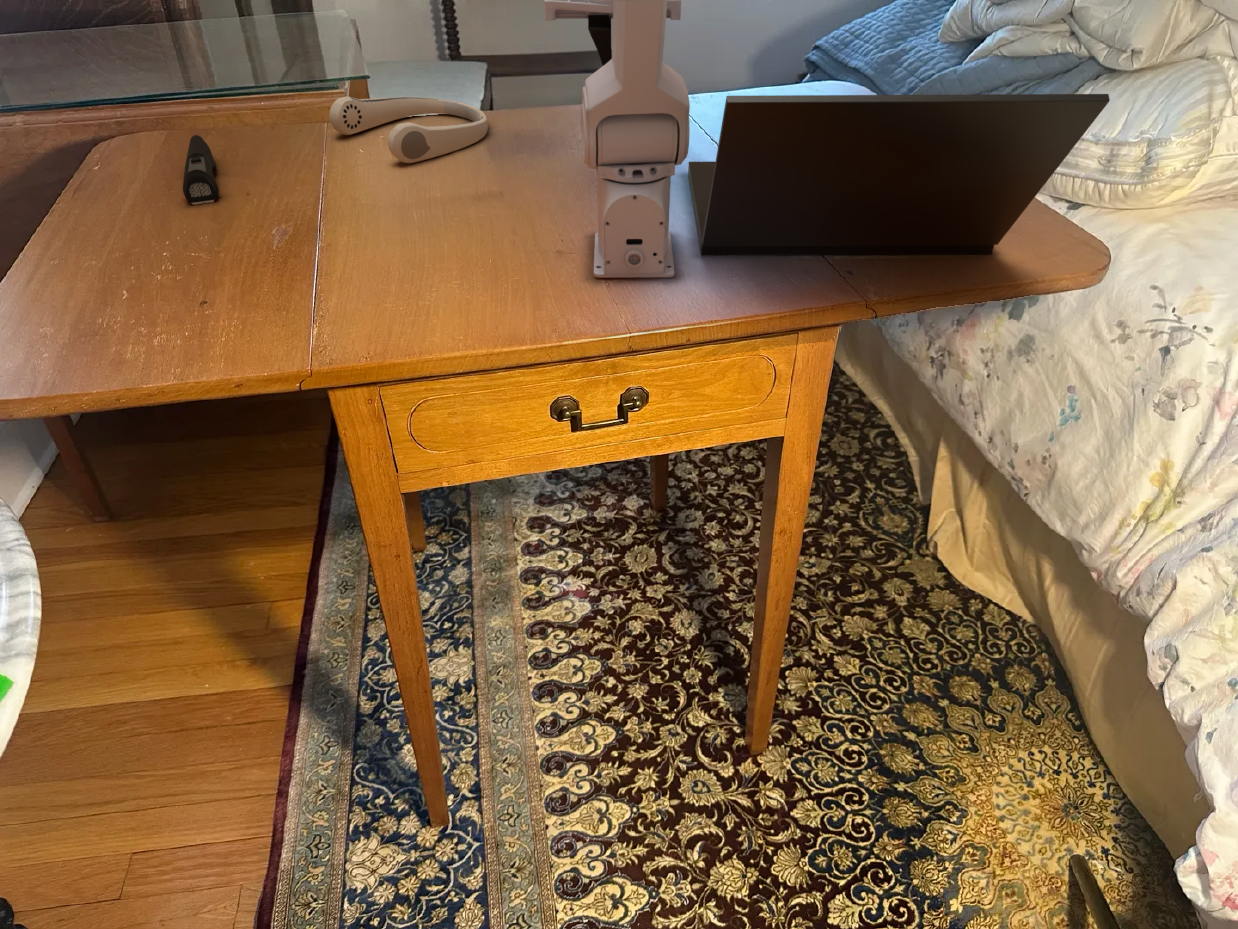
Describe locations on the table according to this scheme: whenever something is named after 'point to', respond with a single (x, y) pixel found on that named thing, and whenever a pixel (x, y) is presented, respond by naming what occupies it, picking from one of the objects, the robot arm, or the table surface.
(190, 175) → the electric trimmer
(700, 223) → the laptop
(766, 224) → the laptop screen
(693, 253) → the table surface
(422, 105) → the beige neck fan
